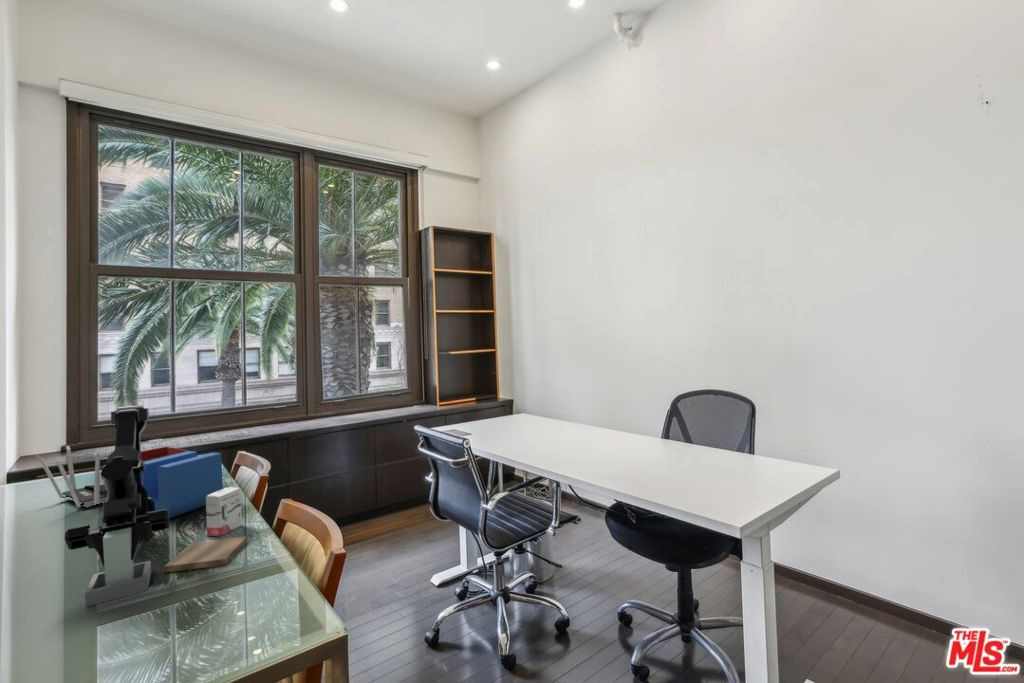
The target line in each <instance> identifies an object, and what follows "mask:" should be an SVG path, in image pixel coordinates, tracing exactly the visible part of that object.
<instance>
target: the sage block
mask: <svg viewBox="0 0 1024 683" xmlns="http://www.w3.org/2000/svg"><path fill="white" fill-rule="evenodd" d="M103 549H104V567H103V568H104V572H105V584H106V586H108V585H112V584H116V583H120V582H124V581H128V580H132V579H135V578H134V564H135V563H134V560H131V549H132V528H131V527H130V528H125V529H120V530H115V531H111V532H106V534H105V535H104V538H103Z"/></svg>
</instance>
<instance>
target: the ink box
mask: <svg viewBox="0 0 1024 683" xmlns="http://www.w3.org/2000/svg"><path fill="white" fill-rule="evenodd" d="M241 493H242V490H241V487H234V486H233V487H232V486H228V487H223V489H222V490H219V491H217V492H214V493H212V494H209V495H207V497H206V506H205V510H206V512H205V513H206V536H207V537H208V536H209V537H222V536H224V535H226V534H227V533H229V532H232V531H234V530H236V529H238V528H239V527H241V526H242V525H243V524H242V522H243V520H242V517H243V516H242V494H241ZM233 529H234V530H233ZM231 530H232V531H231Z"/></svg>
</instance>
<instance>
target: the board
mask: <svg viewBox="0 0 1024 683" xmlns="http://www.w3.org/2000/svg"><path fill="white" fill-rule="evenodd" d="M247 542H248V536H245V535H244V536H240V537H239V536H238V537H237V536H236V537H231V538H222V539H212V540H210V539H209V540H203V541H195V542H191V543H190V544H189V545H187V546H186V547H185V548H183V549H182V550H181V551H180V552H179V553H178V554H177V555H175V556H174V557H173V558H172V559H170V560H169V562H167V563H166V564H165V565H164V566H163V573H170V572H178V571H180V572H181V571H186V570H188V571H189V570H195V569H203V568H212V567H218V566H220V567H221V566H226V565H228V563H229V562H230V561H231V560H232V559H233V558H234V557H235V555H236V554H238V552H239V551H240V550H241V549H242V548H243V547H244V546H245V545H246V544H245V543H247ZM244 544H245V545H244ZM233 556H234V557H233ZM232 557H233V558H232ZM231 558H232V559H231ZM230 559H231V560H230ZM229 560H230V561H229Z"/></svg>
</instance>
